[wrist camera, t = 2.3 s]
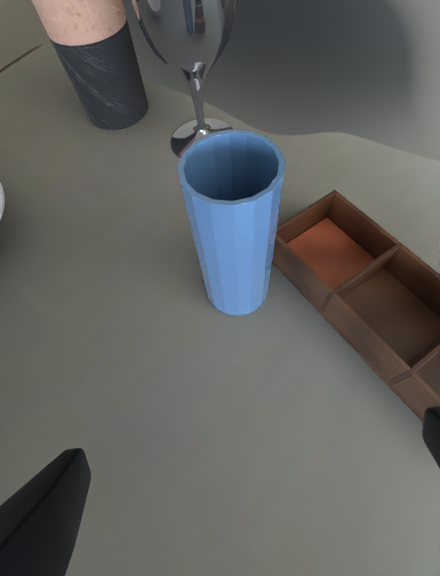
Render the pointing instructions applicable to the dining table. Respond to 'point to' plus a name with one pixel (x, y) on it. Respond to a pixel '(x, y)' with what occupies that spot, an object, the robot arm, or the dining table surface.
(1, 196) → the dish
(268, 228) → the tumbler
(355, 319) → the caddy
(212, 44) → the wine glass
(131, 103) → the travel mug
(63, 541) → the robot arm
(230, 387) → the dining table surface
